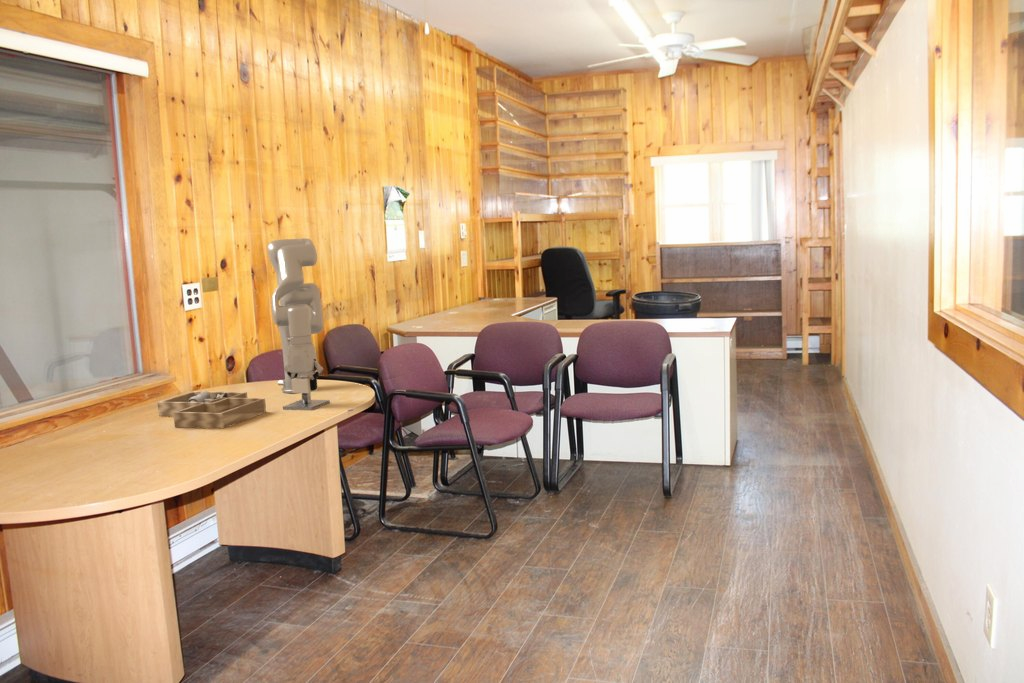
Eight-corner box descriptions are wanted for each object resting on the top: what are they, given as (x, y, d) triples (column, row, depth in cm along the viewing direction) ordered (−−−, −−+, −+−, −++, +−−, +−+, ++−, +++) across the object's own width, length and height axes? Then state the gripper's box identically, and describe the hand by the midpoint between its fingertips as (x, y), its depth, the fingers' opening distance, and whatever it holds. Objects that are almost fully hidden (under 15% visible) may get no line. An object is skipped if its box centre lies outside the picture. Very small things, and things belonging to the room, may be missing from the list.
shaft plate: (282, 409, 298) (281, 394, 297) (301, 402, 309) (300, 387, 308) (311, 410, 294) (310, 394, 293) (329, 402, 305) (328, 388, 304)
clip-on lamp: (206, 423, 294) (231, 401, 311) (204, 407, 292) (229, 386, 308) (175, 420, 296) (201, 399, 312) (173, 404, 293) (199, 383, 310)
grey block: (302, 389, 304) (301, 373, 304) (318, 389, 302) (317, 373, 301) (292, 393, 298) (291, 377, 298) (308, 393, 296) (307, 377, 295)
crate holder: (158, 415, 298) (157, 402, 297) (194, 404, 315) (193, 391, 315) (214, 417, 290) (213, 403, 289) (248, 405, 308) (246, 392, 307)
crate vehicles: (174, 427, 278) (173, 412, 277) (221, 411, 300) (220, 397, 300) (222, 428, 272) (220, 413, 271) (266, 412, 294) (264, 398, 293)
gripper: (274, 342, 297) (278, 391, 300) (316, 342, 292) (320, 392, 294) (286, 339, 304) (290, 387, 307) (327, 339, 299) (331, 388, 301)
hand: (305, 389), depth 300 cm, fingers closed on grey block, 6 cm apart
